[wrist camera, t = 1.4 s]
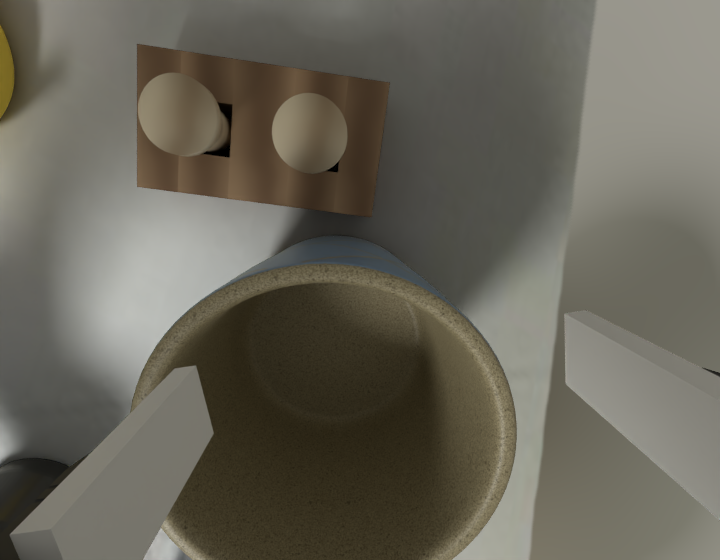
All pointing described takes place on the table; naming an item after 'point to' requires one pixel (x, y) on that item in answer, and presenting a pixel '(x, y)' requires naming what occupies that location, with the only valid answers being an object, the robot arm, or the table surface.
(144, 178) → the socket block
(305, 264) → the planter
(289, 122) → the peg
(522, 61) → the table surface
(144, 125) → the peg
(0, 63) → the teapot
